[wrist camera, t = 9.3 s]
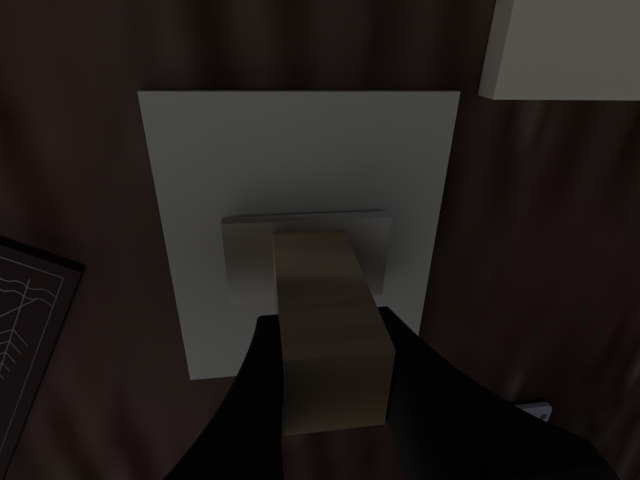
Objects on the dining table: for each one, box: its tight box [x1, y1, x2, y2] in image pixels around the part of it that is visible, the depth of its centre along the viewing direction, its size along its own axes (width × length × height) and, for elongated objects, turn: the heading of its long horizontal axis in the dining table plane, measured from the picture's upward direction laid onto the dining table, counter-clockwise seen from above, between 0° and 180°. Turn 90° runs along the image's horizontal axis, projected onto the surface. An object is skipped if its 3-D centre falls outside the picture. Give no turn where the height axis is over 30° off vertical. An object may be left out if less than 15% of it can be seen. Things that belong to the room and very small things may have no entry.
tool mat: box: [137, 90, 460, 380], centre depth 18 cm, size 14×12×1 cm
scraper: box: [221, 211, 396, 436], centre depth 14 cm, size 4×7×8 cm, turn 89°
